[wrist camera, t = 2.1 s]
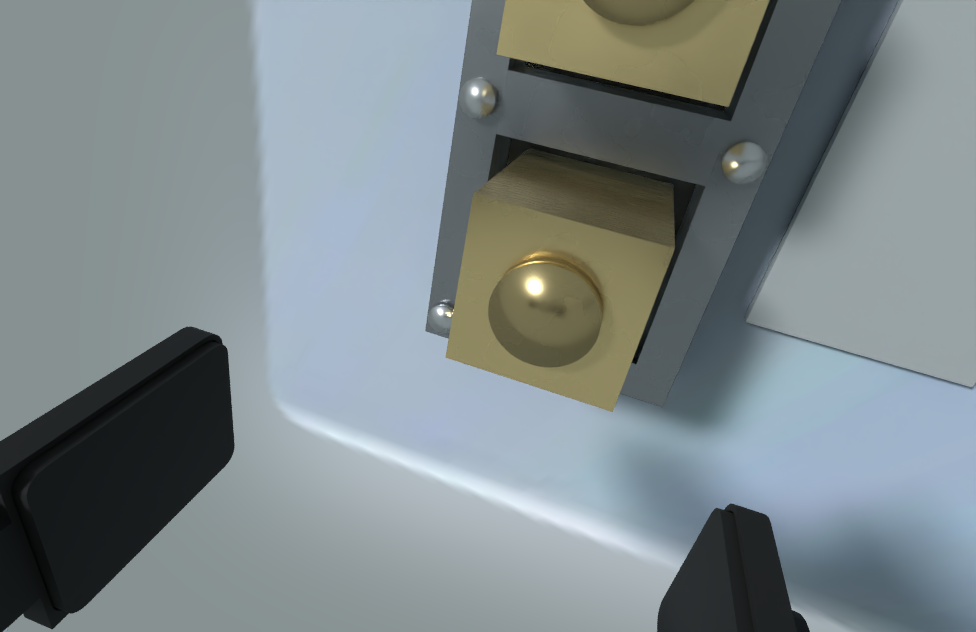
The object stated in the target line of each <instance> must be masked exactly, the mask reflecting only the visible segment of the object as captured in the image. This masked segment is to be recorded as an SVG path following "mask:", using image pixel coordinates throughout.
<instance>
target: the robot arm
mask: <svg viewBox="0 0 976 632" xmlns="http://www.w3.org/2000/svg"><path fill="white" fill-rule="evenodd" d="M233 452H234V433H233V420H232V405H231V391H230V377H229V363H228V351H227V348H226V347H225V346H224V345H223V344H222V340H221V338H220V337H219V336H218V335H215V334H212V333H209V332H206V331H203V330H199V329H197V328H194V327H186V328H183V329H181V330H179V331H178V332H177V333H175V334H173V335H171V336H170V337H168V338H167V339H165V340H163V341H162V342H160V343H158V344H157V345H155V346H154V347H152V348H150V349H149V350H147V351H146V352H144V353H142V354H141V355H139V356H138V357H136V358H134V359H133V360H131V361H130V362H128V363H126V364H125V365H123V366H122V367H120V368H118V369H116V370H115V371H113V372H112V373H110V374H108V375H107V376H105V377H104V378H102V379H100V380H99V381H97V382H95V383H94V384H92V385H91V386H89V387H87V388H86V389H84V390H83V391H81V392H79V393H78V394H76V395H75V396H73V397H71V398H70V399H68V400H66V401H65V402H63V403H62V404H60V405H58V406H57V407H55V408H53V409H52V410H50V411H49V412H47V413H45V414H44V415H42V416H41V417H39V418H37V419H36V420H34V421H32V422H31V423H29V424H28V425H26V426H24V427H23V428H21V429H20V430H18V431H17V432H15V433H13V434H12V435H10V436H8V437H7V438H5V439H3V440H2V441H0V632H7V629H8V627H9V625H11V624H12V623H13V622H14V621H15V620H16V619H17V618H18V617H19V616H21V615H22V614H24V616H25V617H26V618H28V619H30V620H32V621H35V622H37V623H39V624H41V625H44V626H46V627H48V628H51V629H53V628H54V627H55V626H56V625H57V624H58V623H59V622H60V621H61V620H62V619H63V618H65V617H66V615H67V614H69V613H75V612H77V611H79V610H81V609H82V608H83V607H84V606H86V605H87V604H88V603H89V602H90V601H91V600H92V599H93V598H94V597H95V596H96V595H97V594H98V593H99V592H100V591H101V590H102V589H103V588H104V587H105V586H106V585H107V584H108V583H109V582H110V581H111V580H112V579H113V578H114V577H115V576H116V575H117V574H118V573H119V572H120V571H121V570H122V568H124V567H125V566H126V565H127V564H128V563H129V562H130V561H131V560H132V559H133V558H134V557H135V556H136V555H137V554H138V553H139V552H140V551H141V550H142V549H143V548H144V547H145V546H146V545H147V544H148V543H149V542H150V541H151V540H152V539H153V538H154V537H155V536H156V535H157V534H158V533H159V532H160V531H161V530H162V529H163V528H164V527H165V526H166V525H167V524H168V522H170V521H171V520H172V519H173V518H174V517H175V516H176V515H177V514H178V513H179V512H180V511H181V510H182V509H183V508H184V507H185V506H186V505H187V503H189V502H190V501H191V500H192V499H193V498H194V497H195V496H196V495H197V494H198V492H200V491H201V490H202V489H203V488H204V487H205V486H206V485H207V484H208V482H210V481H211V480H212V479H213V478H214V477H215V476H216V475H217V474H218V473H219V472H220V471H221V470H222V469H223V468H224V467H225V466H226V464H227V463H228V462H229V460H230V459H231V457H232V455H233ZM657 624H658V625H657V630H658V631H657V632H810V631H809V628H808V626H807V623H806V621H805V619H804V618H803V617H802V615H801V614H799V613H797V612H795V611H793V610H791V605H790V601H789V597H788V593H787V589H786V585H785V580H784V576H783V572H782V568H781V564H780V560H779V556H778V551H777V547H776V543H775V539H774V535H773V531H772V526H771V523H770V520H769V518H768V517H767V516H766V515H765V514H762V513H759V512H756V511H753V510H750V509H747V508H744V507H741V506H737V505H734V504H729V505H728V506H727V507H726V508H725V510H722V509H719V508H716V509H714V510H713V512H712V513H711V515H710V517H709V519H708V520H707V522H706V524H705V526H704V527H703V529H702V531H701V533H700V535H699V536H698V538H697V540H696V542H695V543H694V545H693V547H692V549H691V550H690V552H689V554H688V556H687V558H686V559H685V561H684V563H683V565H682V566H681V568H680V570H679V572H678V573H677V575H676V577H675V579H674V581H673V582H672V584H671V586H670V588H669V589H668V591H667V593H666V595H665V596H664V598H663V600H662V602H661V605H660V609H659V613H658V623H657Z"/></svg>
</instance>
